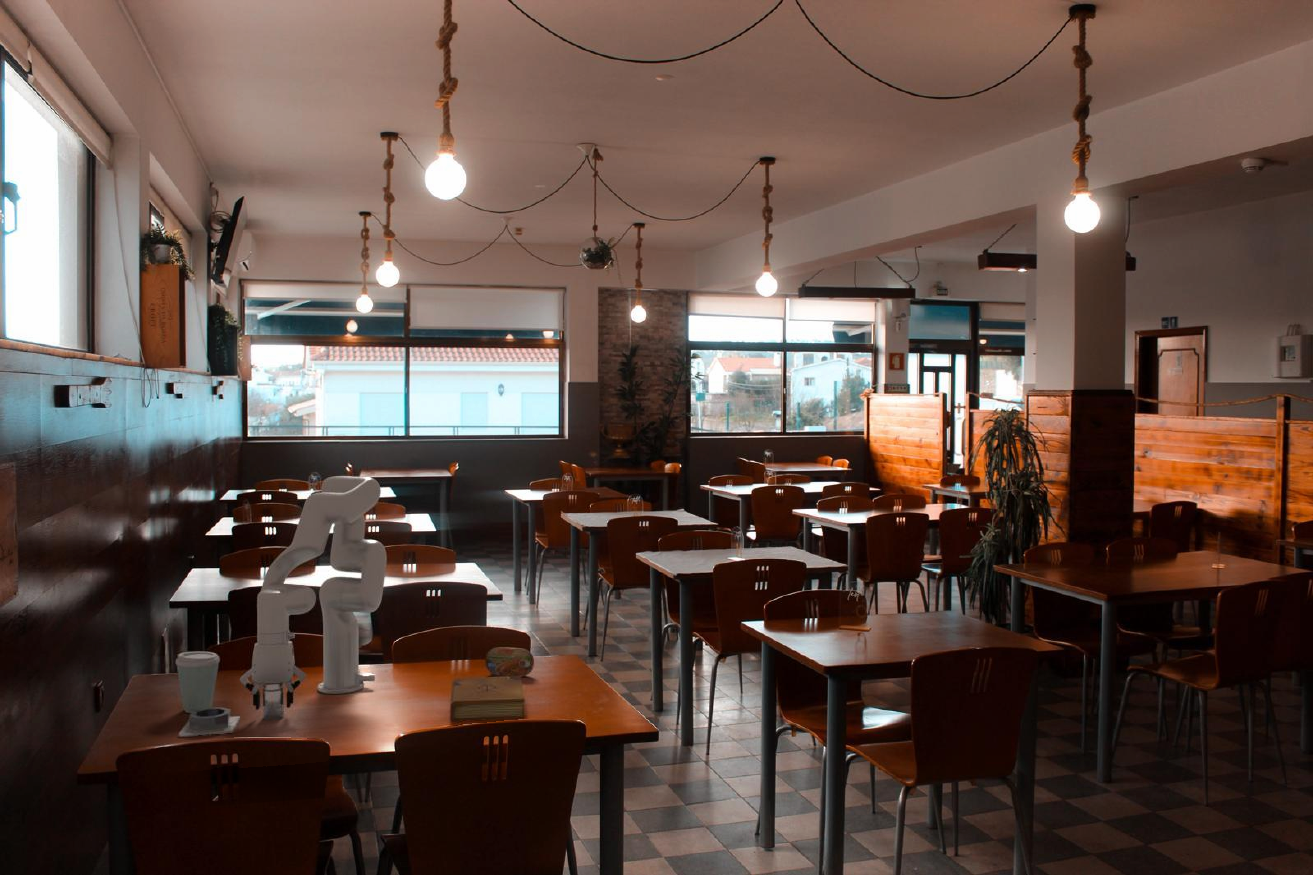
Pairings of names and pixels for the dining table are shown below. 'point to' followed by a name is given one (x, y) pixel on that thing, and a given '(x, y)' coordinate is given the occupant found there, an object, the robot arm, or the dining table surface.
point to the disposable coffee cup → (197, 679)
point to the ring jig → (209, 722)
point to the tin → (509, 661)
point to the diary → (487, 698)
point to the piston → (273, 701)
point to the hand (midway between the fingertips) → (273, 706)
